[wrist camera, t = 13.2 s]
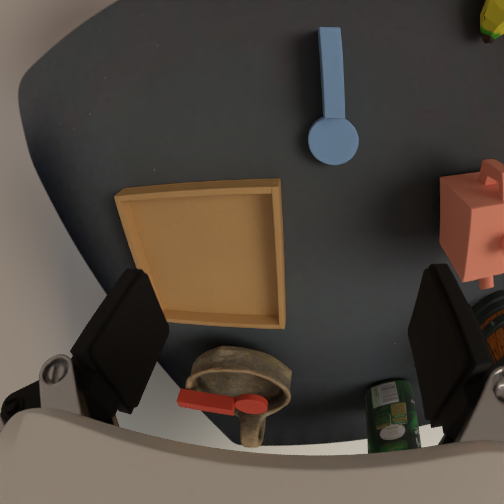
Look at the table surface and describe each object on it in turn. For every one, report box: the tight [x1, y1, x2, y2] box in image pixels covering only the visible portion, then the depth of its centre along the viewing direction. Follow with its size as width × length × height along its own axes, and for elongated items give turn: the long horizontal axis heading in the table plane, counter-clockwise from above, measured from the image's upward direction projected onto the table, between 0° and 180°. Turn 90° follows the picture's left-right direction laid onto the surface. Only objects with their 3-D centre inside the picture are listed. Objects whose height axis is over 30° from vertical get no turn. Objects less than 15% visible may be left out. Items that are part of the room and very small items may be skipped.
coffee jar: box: [365, 379, 421, 454], centre depth 34 cm, size 10×8×19 cm
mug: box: [473, 290, 504, 367], centre depth 26 cm, size 13×10×12 cm
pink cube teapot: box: [439, 159, 504, 289], centre depth 20 cm, size 8×12×8 cm, turn 17°
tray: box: [114, 178, 286, 329], centre depth 30 cm, size 15×16×2 cm
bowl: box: [186, 346, 292, 447], centre depth 37 cm, size 14×18×10 cm
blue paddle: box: [308, 27, 359, 165], centre depth 20 cm, size 11×4×2 cm, turn 5°
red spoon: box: [177, 389, 268, 415], centre depth 34 cm, size 11×4×2 cm, turn 92°
